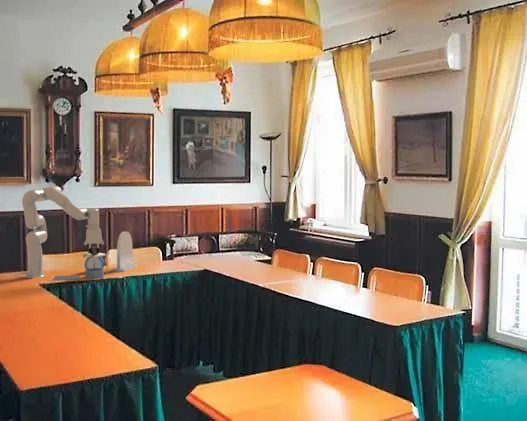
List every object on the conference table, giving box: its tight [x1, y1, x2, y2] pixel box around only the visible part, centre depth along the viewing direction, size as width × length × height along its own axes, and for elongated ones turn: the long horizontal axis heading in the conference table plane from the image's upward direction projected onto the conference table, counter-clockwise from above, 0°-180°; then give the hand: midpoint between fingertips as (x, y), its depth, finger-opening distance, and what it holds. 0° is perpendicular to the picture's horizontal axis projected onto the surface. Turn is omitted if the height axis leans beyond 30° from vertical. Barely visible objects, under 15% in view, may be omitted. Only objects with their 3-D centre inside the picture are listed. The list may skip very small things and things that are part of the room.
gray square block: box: [84, 267, 105, 280], centre depth 439 cm, size 12×12×6 cm
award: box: [112, 231, 139, 273], centre depth 478 cm, size 28×9×28 cm, turn 170°
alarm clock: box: [84, 251, 105, 270], centre depth 458 cm, size 13×6×15 cm, turn 99°
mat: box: [52, 274, 82, 281], centre depth 436 cm, size 17×17×1 cm
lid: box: [82, 246, 107, 259], centre depth 438 cm, size 15×15×6 cm
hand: (94, 253), depth 438 cm, fingers closed on lid, 3 cm apart
